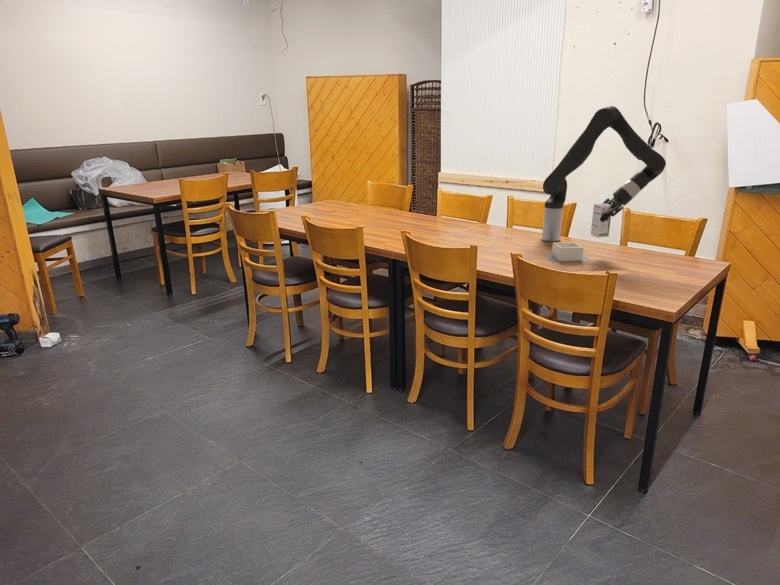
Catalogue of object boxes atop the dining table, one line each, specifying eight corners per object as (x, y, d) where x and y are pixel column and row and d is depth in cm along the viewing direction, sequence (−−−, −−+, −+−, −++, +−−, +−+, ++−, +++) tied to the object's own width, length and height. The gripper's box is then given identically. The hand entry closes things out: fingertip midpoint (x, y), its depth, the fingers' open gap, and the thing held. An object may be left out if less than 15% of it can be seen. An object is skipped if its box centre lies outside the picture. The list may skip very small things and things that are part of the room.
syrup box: (597, 237, 248) (601, 206, 243) (589, 234, 253) (593, 203, 248) (608, 236, 249) (612, 205, 244) (600, 233, 255) (604, 202, 250)
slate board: (542, 257, 258) (542, 254, 258) (579, 256, 259) (580, 253, 259) (552, 265, 245) (552, 262, 245) (591, 264, 246) (591, 261, 245)
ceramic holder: (551, 254, 256) (552, 242, 254) (573, 254, 257) (574, 241, 255) (559, 261, 246) (560, 248, 244) (582, 260, 247) (583, 247, 245)
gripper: (614, 184, 251) (586, 210, 254) (629, 189, 237) (599, 216, 241) (624, 195, 253) (596, 221, 256) (639, 201, 239) (609, 228, 243)
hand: (597, 218), depth 248 cm, fingers closed on syrup box, 6 cm apart
